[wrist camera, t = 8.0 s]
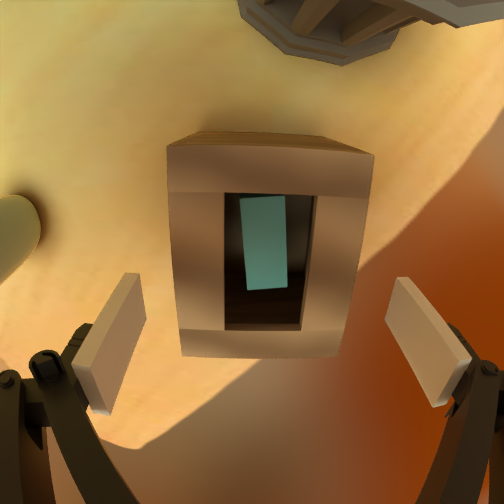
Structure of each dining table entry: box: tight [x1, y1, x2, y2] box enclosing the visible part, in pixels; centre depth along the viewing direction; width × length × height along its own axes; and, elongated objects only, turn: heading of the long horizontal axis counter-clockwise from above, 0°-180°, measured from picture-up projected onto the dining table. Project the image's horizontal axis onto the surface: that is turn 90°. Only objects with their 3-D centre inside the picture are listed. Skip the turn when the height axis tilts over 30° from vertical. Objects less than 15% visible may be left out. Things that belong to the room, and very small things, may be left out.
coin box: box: [167, 132, 374, 359], centre depth 24 cm, size 14×11×12 cm
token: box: [240, 193, 287, 290], centre depth 26 cm, size 7×3×7 cm, turn 4°
